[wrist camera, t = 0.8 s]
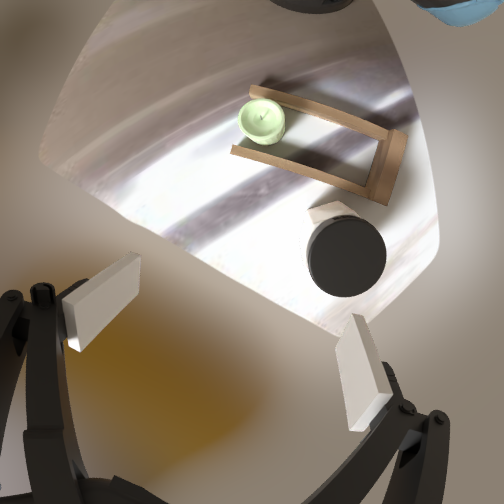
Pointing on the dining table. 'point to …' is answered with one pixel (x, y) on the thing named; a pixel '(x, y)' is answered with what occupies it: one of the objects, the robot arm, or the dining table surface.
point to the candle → (262, 121)
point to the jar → (341, 250)
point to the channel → (389, 140)
